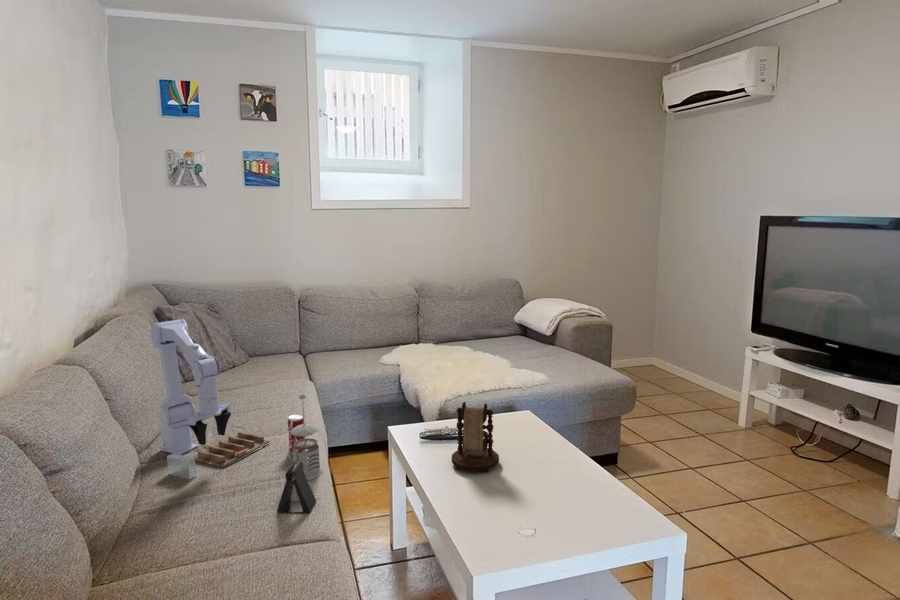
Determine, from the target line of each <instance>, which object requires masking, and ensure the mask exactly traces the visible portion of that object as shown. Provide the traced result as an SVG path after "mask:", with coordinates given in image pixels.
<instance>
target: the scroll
mask: <svg viewBox="0 0 900 600" xmlns="http://www.w3.org/2000/svg"><path fill="white" fill-rule="evenodd" d="M456 415H457V422H456V428H457V430H458V431H457V438H456V441H457V445H458V446H457V450H455V451H454V452H453V453H452V454H451V463H452V465H454V466H455V470H459V469H462V470H466V471H486V473H489V472H490V469H492V468H495V467H496V466H497V465H498V464H499V463H500V455H499V453H497V452H496V450H495V451H494V450H493V449H494V448H493V444H494V439H493V433H492V432H493V431H494V424H493V422H494V421H493V417H494V416H493V415H494V411H493V409H488V404H487V403H486V402H485V403H484V405H483V407H470V406H467V403H466V401H463V402H462V404H461V407H458V408H457V409H456ZM487 418H488V419H487ZM486 422H487V424H486V425H485V423H486ZM462 430H463V431H462ZM484 430H487V431H485V433H484Z"/></svg>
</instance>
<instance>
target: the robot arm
mask: <svg viewBox="0 0 900 600" xmlns="http://www.w3.org/2000/svg"><path fill="white" fill-rule="evenodd" d="M188 326H189V325H188V323H187V321H186V320H185V319H183V318H179V319H176V320H168V321H162V322H161V321H160V322H154V323H153V324H152V326H151V327H150V328H151V329H150V336H151V341H152V345H153V348H155V349H156V348H157V349H158V352H159V355H160V361H161V368H162V373H163V378H164V379H163V380H164V385H165V389H166V391H165V392H166V395H167V396H166V397H165V398H164V399H163V400H162V401H161V403H160V404H159V420H160V421H161V424H162V427H161V430H160V437H161V446H162V448H160V451H161V452H166V453H170V454H173V453H175V454H179V455H183V454H185V453H186V452H189V451H191V450H193V449H196V448H197V447H199V445H201V446H204V445H206V442H207V437H206V434H207V427H208V423H205V422H203V421H205V420H207V419H209V418H212V417H214V420H215V423H216V430H217V435H219V436H225V435H226V429H227V425H228V422H229V419H230V417H231V416H232V412H231V411H230V410H231V404H230V403H226V402H225V403H222V404H220V397H219V387H218V377H217V376H218V375H220V371H221V367H220V366H221V365H220V362H219V360H218V359H217V357H216V356H212V355H208V353H207V352H206V351H205V349H203V347H202V346H201V345H200V344H199V343H194V342H193V339H192V338H191V336H190V334H189V327H188ZM177 346H178V347H179V348H180V349H181V350H182V355H183V358H184V359H185V360H186V362H187V363H188V364H189V366H190V367H191V371H192V375H193V378H194V383H195V384H196V387H197V399H198V400H197V401H198V409H199V410H198V412H196V406H195V405H194V401H193V399H192V397H191V396H189V395H187V394H185V393H184V390H183V383H182V377H181V371H180V367H179V362H178V355H177V350H176V348H177ZM192 432H193V433H194V435H195V437H196V439H197V442H198V443H193V434H192Z"/></svg>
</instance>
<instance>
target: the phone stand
mask: <svg viewBox="0 0 900 600" xmlns="http://www.w3.org/2000/svg"><path fill="white" fill-rule="evenodd" d="M295 463H296V461H295V462H294V463H292V464H291V465H290V467H289V468H288V470H287V471H286V472H285V484H284V487H283V490H282V493H281V496H280V497H281V498H280V500H279V503H278V506H277V510H276V513H277V514H300V515H301V514H304V515H305V514H306V515H307V514H310V513H312V512H311V511H312V510H313V508H314V506H315V504H316V503H317V499H316V497H315V494H314V492H313V491H312V487H311V485H310V483H309V480H307V478H306V476H305V474H304V471H303V463H302V462H300V461H299V462H298V461H297V463H298V464H297V465H296V466H295V468H294V465H295ZM294 488H295V492H296V495H297V497H298V500H292V495H293V491H294Z"/></svg>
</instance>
